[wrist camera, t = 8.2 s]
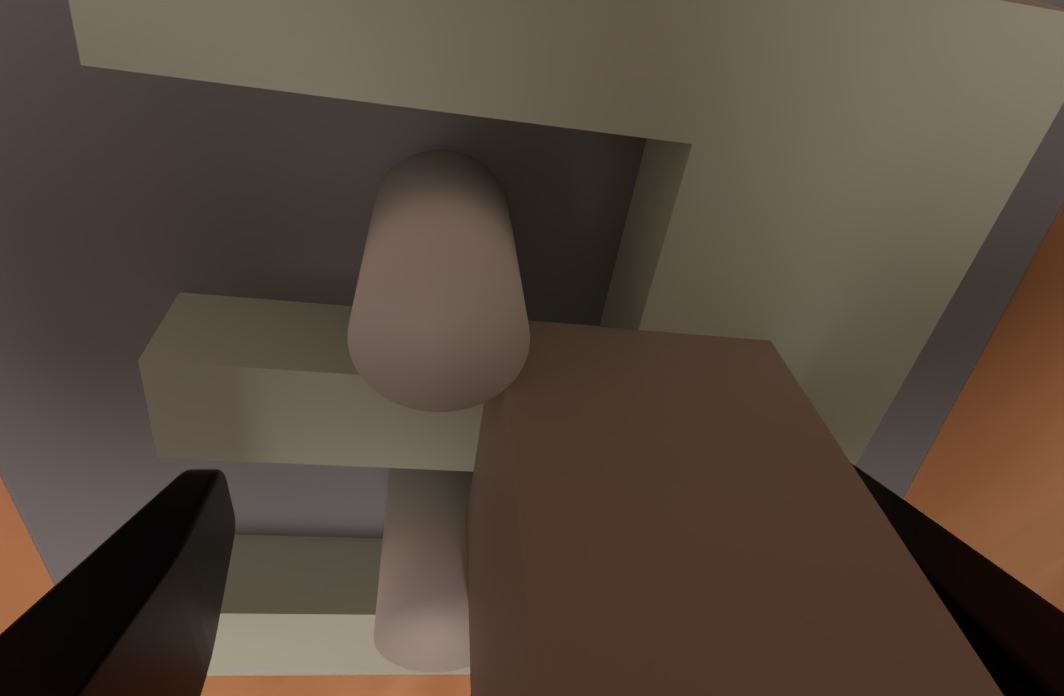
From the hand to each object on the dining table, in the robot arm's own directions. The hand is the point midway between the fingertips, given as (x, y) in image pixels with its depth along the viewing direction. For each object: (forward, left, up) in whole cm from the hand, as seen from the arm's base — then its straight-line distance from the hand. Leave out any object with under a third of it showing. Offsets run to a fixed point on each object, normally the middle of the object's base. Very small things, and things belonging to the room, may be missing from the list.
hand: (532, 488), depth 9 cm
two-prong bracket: (0, 0, -3) cm, 3 cm away
